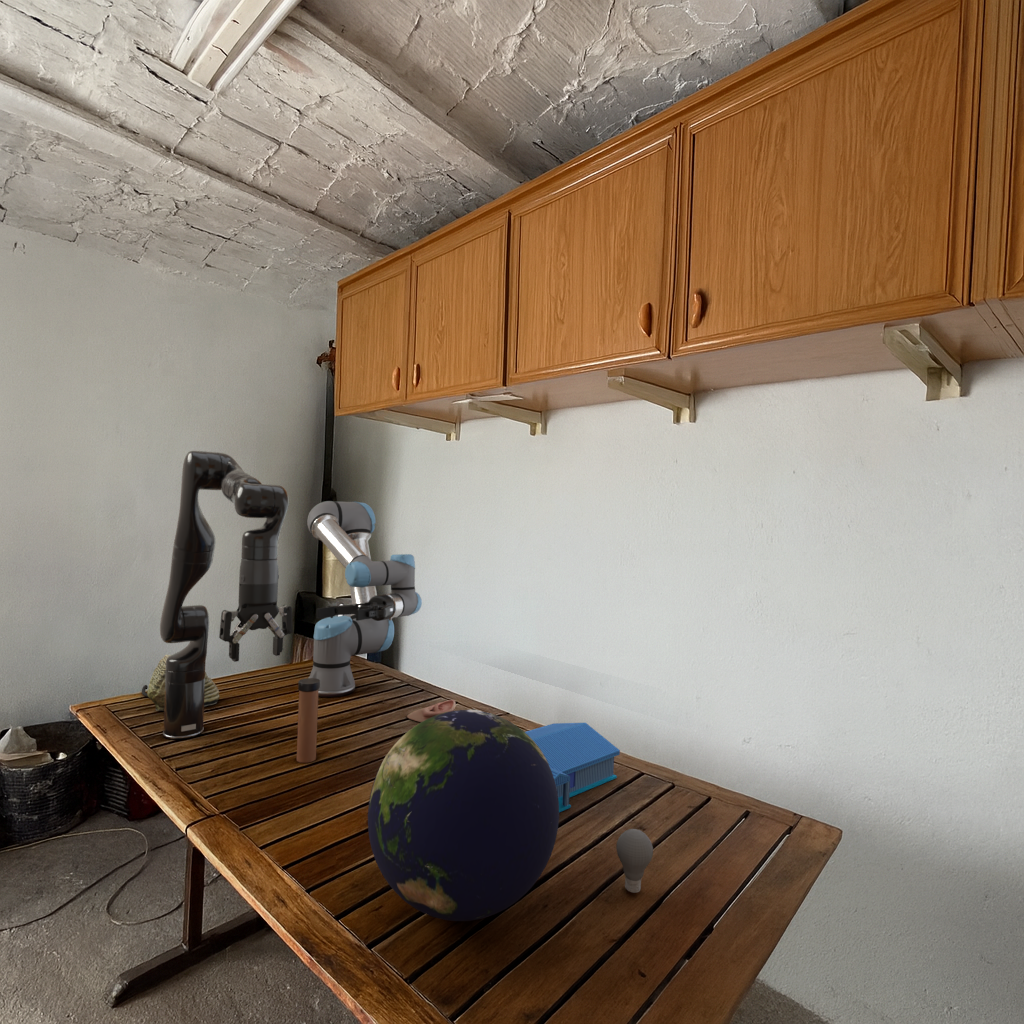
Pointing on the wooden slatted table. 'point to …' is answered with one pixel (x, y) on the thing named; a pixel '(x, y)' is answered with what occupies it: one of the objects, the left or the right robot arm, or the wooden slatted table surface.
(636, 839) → the light bulb
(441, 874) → the globe
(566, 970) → the wooden slatted table surface
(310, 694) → the brown rounded cylinder
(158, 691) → the fossil
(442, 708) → the anatomical model
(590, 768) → the model building
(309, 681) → the lid
